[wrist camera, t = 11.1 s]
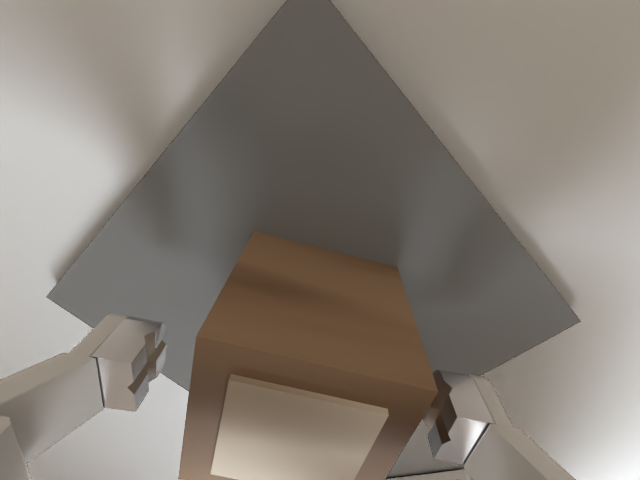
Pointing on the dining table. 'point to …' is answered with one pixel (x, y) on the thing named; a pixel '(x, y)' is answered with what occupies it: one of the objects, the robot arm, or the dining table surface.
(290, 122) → the coaster
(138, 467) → the dining table surface
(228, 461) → the letter cube
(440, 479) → the supplement box
